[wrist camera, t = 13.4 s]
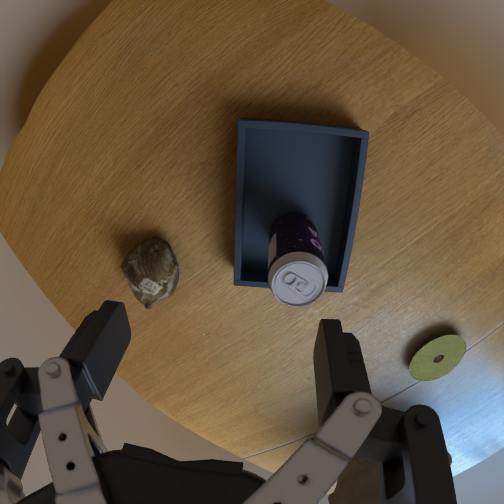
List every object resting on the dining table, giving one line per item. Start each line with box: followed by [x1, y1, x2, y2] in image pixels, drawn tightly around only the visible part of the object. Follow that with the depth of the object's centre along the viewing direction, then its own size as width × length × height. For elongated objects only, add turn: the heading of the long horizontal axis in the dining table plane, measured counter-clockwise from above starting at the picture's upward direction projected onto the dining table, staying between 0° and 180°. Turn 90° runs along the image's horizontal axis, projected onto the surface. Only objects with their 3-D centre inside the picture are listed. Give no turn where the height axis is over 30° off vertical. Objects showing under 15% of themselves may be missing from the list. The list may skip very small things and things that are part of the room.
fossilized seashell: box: [121, 238, 179, 309], centre depth 41 cm, size 8×7×10 cm
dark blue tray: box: [234, 118, 369, 292], centre depth 36 cm, size 20×14×4 cm
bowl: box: [328, 452, 452, 504], centre depth 52 cm, size 27×29×20 cm
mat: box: [409, 335, 466, 381], centre depth 47 cm, size 11×11×2 cm
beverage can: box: [267, 212, 328, 307], centre depth 34 cm, size 6×6×12 cm
